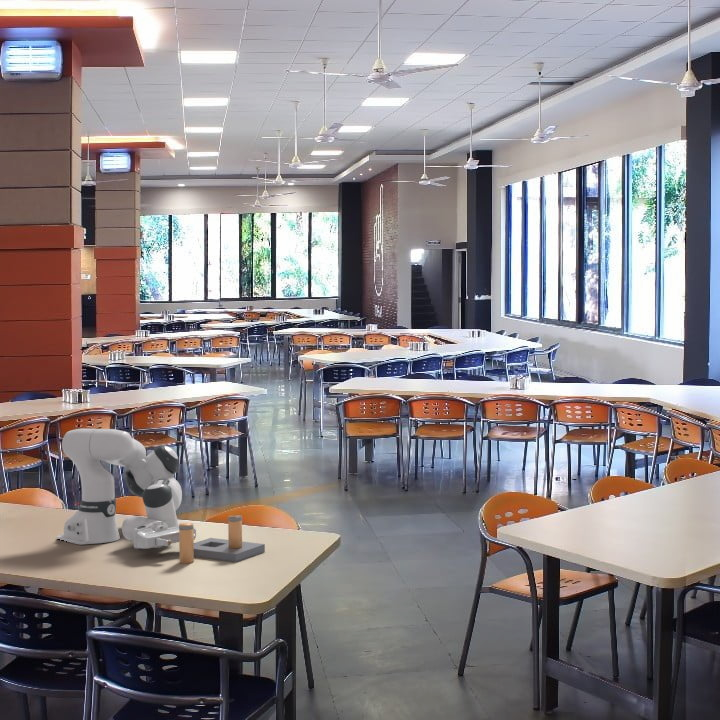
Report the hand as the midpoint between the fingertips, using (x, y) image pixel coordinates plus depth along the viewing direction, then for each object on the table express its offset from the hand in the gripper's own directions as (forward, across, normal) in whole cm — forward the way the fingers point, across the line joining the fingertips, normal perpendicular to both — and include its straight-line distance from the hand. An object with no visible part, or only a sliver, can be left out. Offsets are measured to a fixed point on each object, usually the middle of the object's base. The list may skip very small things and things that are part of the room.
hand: (181, 540), depth 318 cm
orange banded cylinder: (+5, +2, -6) cm, 8 cm away
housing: (+4, -14, -6) cm, 15 cm away
